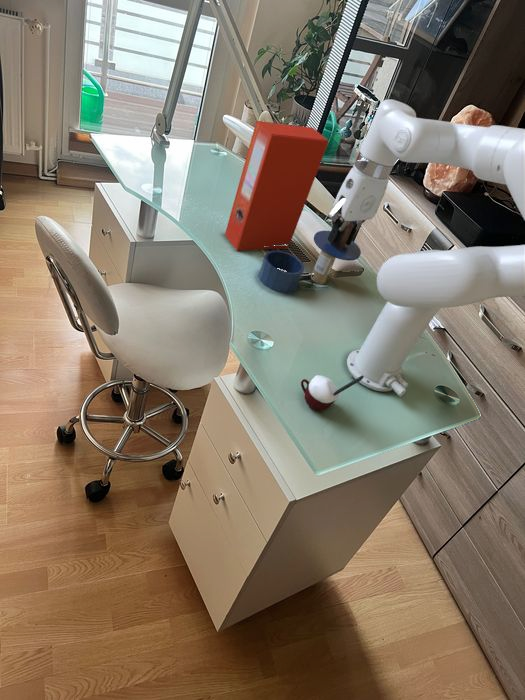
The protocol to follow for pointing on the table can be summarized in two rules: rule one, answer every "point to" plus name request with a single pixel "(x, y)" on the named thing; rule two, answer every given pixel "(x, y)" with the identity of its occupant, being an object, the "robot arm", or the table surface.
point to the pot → (278, 278)
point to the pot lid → (342, 249)
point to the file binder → (274, 185)
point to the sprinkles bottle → (322, 267)
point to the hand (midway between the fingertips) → (338, 241)
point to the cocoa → (323, 392)
